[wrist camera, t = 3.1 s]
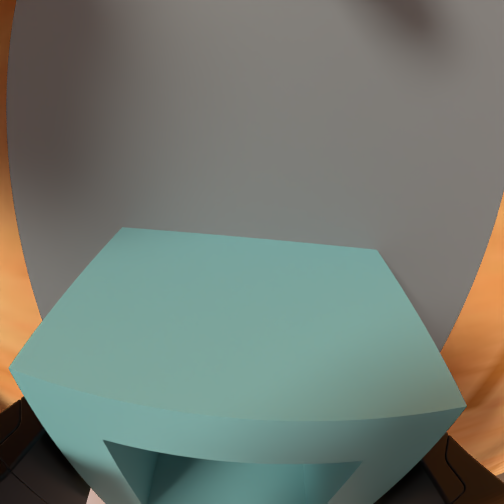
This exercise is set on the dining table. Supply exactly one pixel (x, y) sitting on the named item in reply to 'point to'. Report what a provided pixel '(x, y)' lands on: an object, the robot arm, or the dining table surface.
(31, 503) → the robot arm
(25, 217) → the grey piece
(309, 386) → the teal hollow block
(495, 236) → the dining table surface
